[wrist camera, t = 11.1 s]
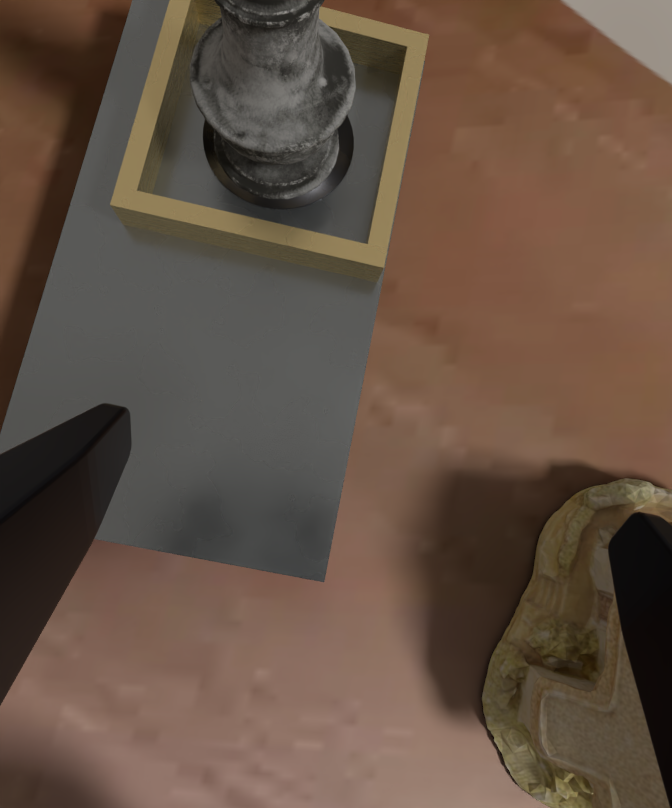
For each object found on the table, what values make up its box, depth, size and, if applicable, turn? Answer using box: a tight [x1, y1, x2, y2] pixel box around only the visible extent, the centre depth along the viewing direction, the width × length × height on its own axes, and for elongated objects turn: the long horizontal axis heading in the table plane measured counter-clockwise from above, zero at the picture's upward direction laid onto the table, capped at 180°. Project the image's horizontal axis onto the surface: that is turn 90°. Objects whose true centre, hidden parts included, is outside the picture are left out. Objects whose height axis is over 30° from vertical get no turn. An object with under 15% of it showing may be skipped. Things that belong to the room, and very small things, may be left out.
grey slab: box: [0, 0, 429, 582], centre depth 21 cm, size 23×13×4 cm, turn 169°
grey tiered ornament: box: [190, 0, 356, 199], centre depth 16 cm, size 6×6×12 cm
